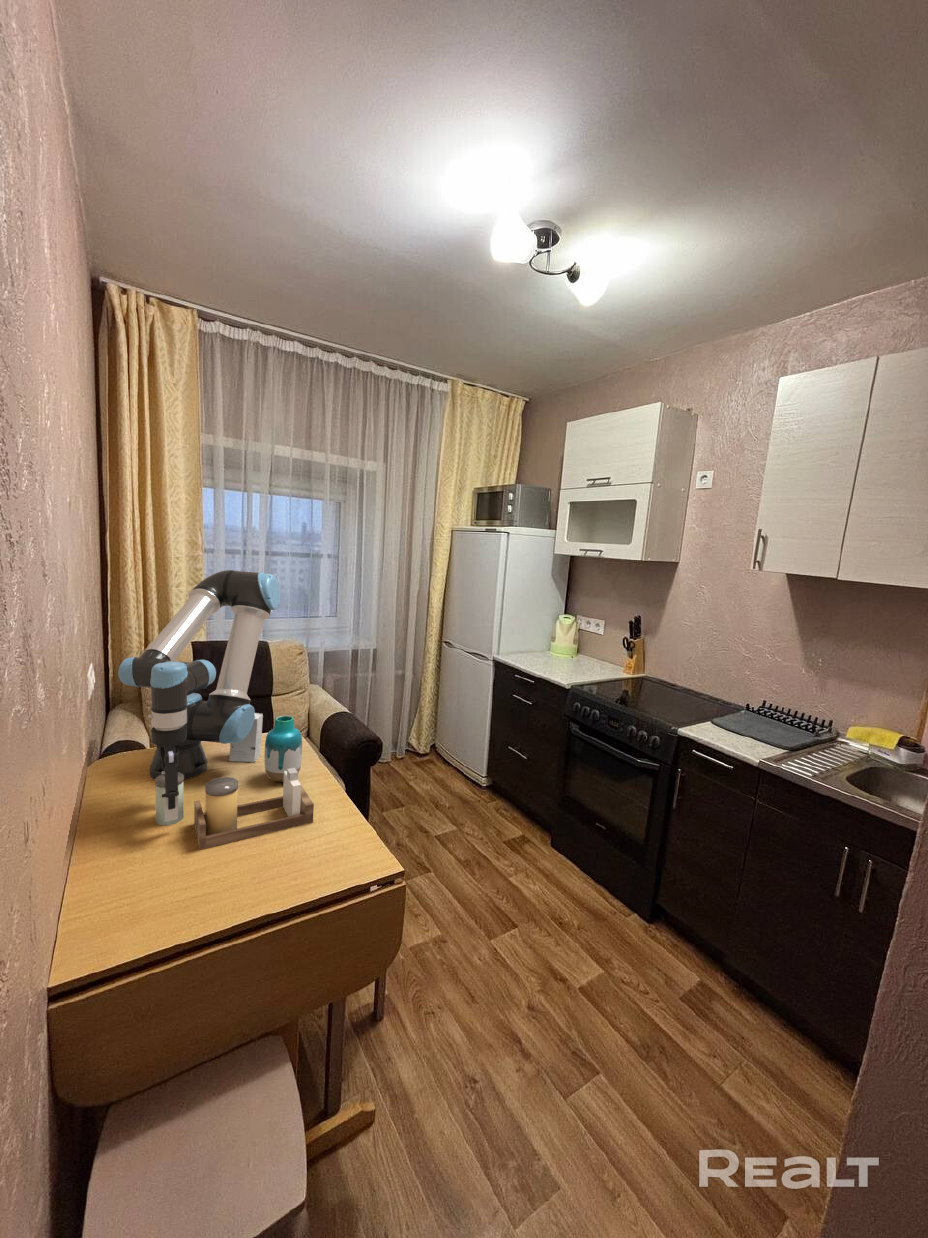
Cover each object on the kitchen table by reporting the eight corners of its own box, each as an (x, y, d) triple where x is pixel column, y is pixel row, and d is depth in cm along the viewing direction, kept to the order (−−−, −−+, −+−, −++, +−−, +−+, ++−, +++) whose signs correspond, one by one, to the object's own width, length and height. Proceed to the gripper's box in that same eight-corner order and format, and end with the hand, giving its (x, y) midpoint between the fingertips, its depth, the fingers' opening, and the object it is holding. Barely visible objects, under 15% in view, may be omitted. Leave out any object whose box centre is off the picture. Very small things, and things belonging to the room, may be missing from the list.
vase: (306, 773, 153) (309, 714, 151) (291, 789, 143) (293, 726, 140) (274, 769, 154) (276, 710, 152) (257, 784, 144) (258, 722, 141)
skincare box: (229, 761, 157) (229, 717, 155) (236, 754, 163) (236, 711, 161) (256, 762, 158) (257, 718, 155) (262, 755, 163) (263, 712, 161)
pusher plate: (282, 806, 133) (284, 764, 131) (290, 804, 134) (291, 763, 132) (291, 823, 125) (293, 779, 124) (299, 821, 126) (301, 777, 125)
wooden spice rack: (194, 823, 122) (194, 801, 121) (300, 800, 137) (300, 780, 136) (199, 849, 112) (199, 825, 112) (313, 822, 127) (313, 800, 126)
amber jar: (203, 827, 121) (203, 780, 120) (234, 820, 125) (235, 775, 124) (206, 842, 115) (207, 793, 114) (239, 834, 119) (240, 787, 118)
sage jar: (154, 815, 124) (154, 775, 123) (182, 810, 128) (182, 770, 126) (155, 828, 119) (155, 785, 118) (184, 822, 123) (185, 780, 121)
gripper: (149, 711, 128) (150, 787, 131) (153, 746, 108) (153, 836, 111) (182, 708, 132) (182, 782, 135) (191, 741, 112) (191, 827, 115)
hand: (169, 806), depth 123 cm, fingers open, 13 cm apart
